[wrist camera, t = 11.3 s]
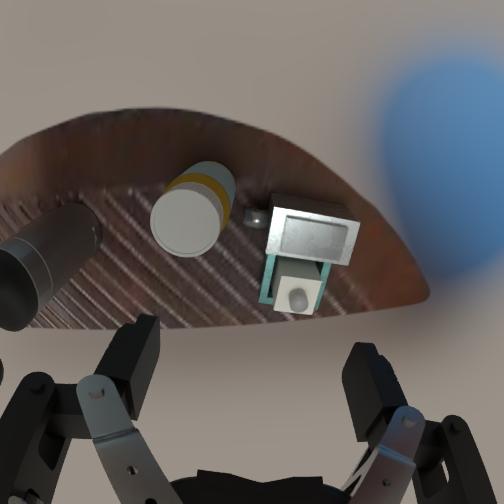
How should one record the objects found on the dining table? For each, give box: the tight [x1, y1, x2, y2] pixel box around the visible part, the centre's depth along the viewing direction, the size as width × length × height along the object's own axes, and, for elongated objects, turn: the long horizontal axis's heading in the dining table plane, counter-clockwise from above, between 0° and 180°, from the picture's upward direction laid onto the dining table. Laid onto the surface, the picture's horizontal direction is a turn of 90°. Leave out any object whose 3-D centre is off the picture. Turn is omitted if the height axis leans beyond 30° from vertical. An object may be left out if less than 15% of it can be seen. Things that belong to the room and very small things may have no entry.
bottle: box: [150, 161, 236, 257], centre depth 33 cm, size 7×7×15 cm
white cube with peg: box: [271, 255, 322, 315], centre depth 40 cm, size 5×5×9 cm
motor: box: [243, 192, 360, 310], centre depth 39 cm, size 13×15×8 cm
